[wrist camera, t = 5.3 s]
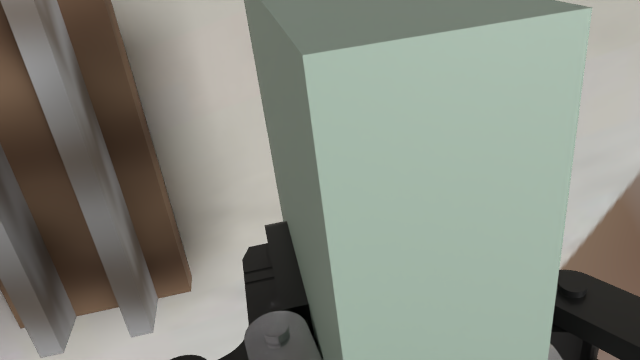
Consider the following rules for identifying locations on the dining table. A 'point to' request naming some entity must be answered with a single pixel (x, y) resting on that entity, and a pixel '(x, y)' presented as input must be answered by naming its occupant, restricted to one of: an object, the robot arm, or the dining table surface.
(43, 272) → the door track
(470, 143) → the door panel
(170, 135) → the dining table surface
